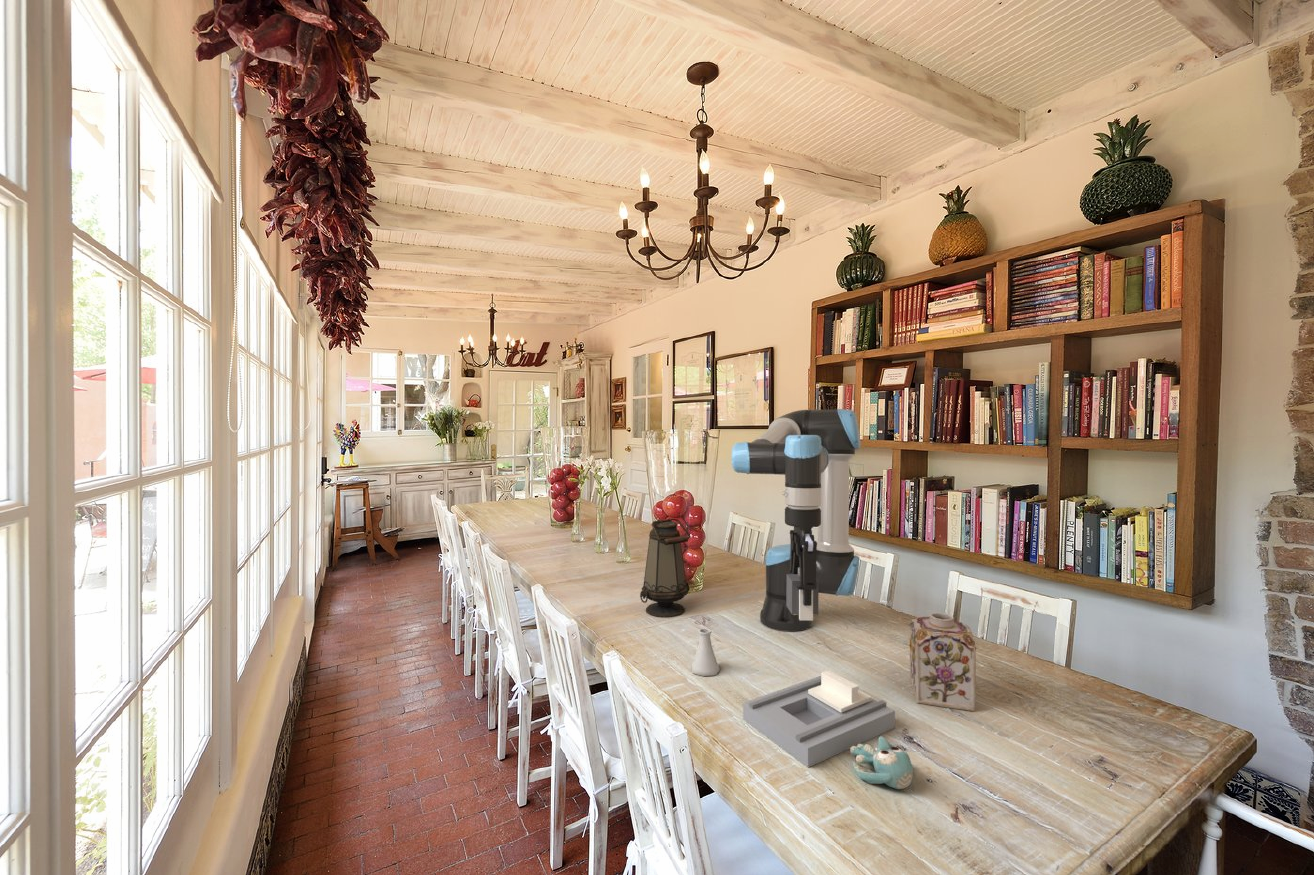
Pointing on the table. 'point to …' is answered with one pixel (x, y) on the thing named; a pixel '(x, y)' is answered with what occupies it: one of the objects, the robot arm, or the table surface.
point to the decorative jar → (943, 662)
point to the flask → (705, 656)
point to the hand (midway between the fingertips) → (802, 614)
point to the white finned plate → (838, 692)
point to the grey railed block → (815, 722)
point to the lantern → (665, 570)
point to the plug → (793, 594)
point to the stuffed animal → (883, 764)
